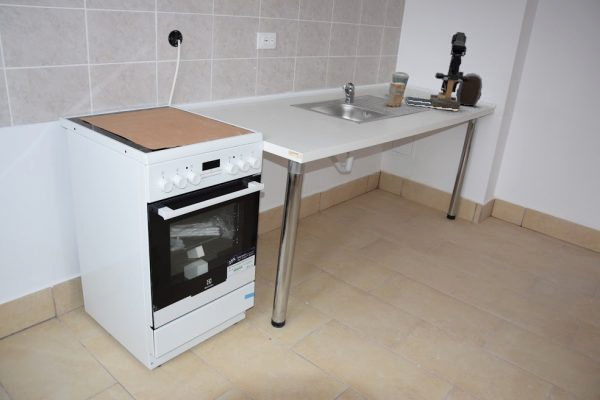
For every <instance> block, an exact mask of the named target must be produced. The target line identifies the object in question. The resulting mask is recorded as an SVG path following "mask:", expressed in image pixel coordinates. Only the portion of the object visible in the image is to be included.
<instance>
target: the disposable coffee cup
mask: <svg viewBox="0 0 600 400" xmlns="http://www.w3.org/2000/svg"><path fill="white" fill-rule="evenodd" d="M391 76H392V77H391V78H392V79H391V80H392V82H391V83H403V84H405V89H404V92H405V91H406V88H407V85H408V81H409V78H410V76H409V74H408V73H406V72H404V71H403V72H402V71H394V72H393V73H392V75H391ZM404 94H405V93H404ZM404 94H403V96H404Z"/></svg>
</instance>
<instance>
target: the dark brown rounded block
mask: <svg viewBox="0 0 600 400" xmlns="http://www.w3.org/2000/svg"><path fill="white" fill-rule="evenodd" d="M464 76H467V77H469V82H463V81H462V80H461V83H459V84H458V88H456V92H455V93H456V94H455V96H456V101H457V102H460V105H461V104H464V105H463V106H466V105H473V106H472V107H474V106H475V107H476V105H477V104H478V101H479V100H480V99H481V96H482V88H483V79H482V77H481V76H480V75H479V74H476V73H474V72H472V73H467V74H465V75H464Z"/></svg>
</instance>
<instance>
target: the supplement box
mask: <svg viewBox="0 0 600 400" xmlns="http://www.w3.org/2000/svg"><path fill="white" fill-rule="evenodd" d="M404 89H405V90H406V88H405V84H403V83H392V82H390V83H389V89H388V95H387V100H386V106H389V107H391V106H392V107H391V108H393V106H396V107H398V106H397V105H401V106H402V103H403V98H404V95H403V94H405V91H404Z"/></svg>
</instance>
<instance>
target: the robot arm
mask: <svg viewBox="0 0 600 400" xmlns="http://www.w3.org/2000/svg"><path fill="white" fill-rule="evenodd" d="M466 43H467V36H466V33H465V32H460V31H457V32H456V33H455V34H453V35H452V38H451V42H450V44H451V50H450V56H451V57H450V61H449V66H448V72H447V74H444V73H443V72H436V73H435V75H434V78H436V79H438V80H442V83H441V87H440V92H442V93H446V91H447V84H448V80H454V83H453V88H452V93H456V92H457V86H459V84H460V83H461V80H462V81H463V82H469V77H467V76H465V75H464V71H460V66H461V65H462V57H465V56H466V53H467V45H466Z"/></svg>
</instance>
